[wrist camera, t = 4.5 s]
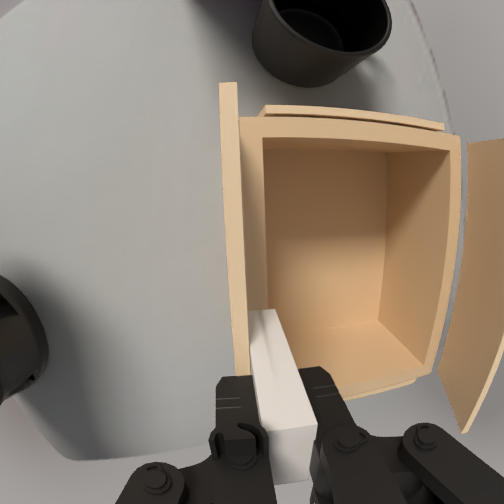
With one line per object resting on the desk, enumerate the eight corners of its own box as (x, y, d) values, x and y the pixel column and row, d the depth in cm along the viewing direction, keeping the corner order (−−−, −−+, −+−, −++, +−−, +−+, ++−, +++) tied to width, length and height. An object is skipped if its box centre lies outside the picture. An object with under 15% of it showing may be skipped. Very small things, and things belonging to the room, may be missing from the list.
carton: (242, 351, 31) (253, 418, 21) (230, 129, 25) (239, 104, 15) (381, 331, 32) (428, 380, 23) (392, 135, 27) (459, 126, 17)
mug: (381, 64, 25) (433, 37, 16) (283, 103, 25) (313, 74, 16) (335, -7, 22) (370, -50, 13) (233, 24, 22) (240, -28, 14)
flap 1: (250, 411, 20) (243, 411, 20) (234, 124, 15) (225, 125, 15) (258, 501, 12) (249, 501, 12) (236, 81, 8) (218, 83, 8)
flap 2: (467, 143, 17) (472, 144, 17) (437, 370, 22) (441, 370, 22) (526, 135, 9) (532, 137, 9) (461, 433, 14) (466, 432, 14)
